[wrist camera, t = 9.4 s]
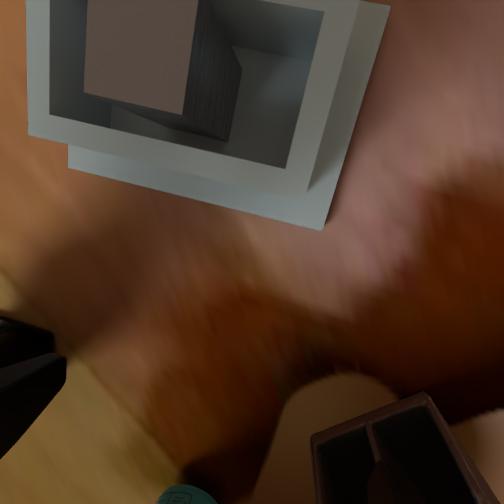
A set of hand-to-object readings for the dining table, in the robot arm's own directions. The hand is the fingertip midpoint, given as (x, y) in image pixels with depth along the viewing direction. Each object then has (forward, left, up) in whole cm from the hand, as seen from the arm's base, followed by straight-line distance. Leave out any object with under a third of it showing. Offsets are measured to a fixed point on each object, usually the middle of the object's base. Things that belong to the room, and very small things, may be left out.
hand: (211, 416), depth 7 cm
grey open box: (-6, +10, -12) cm, 17 cm away
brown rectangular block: (-6, +10, -12) cm, 16 cm away
